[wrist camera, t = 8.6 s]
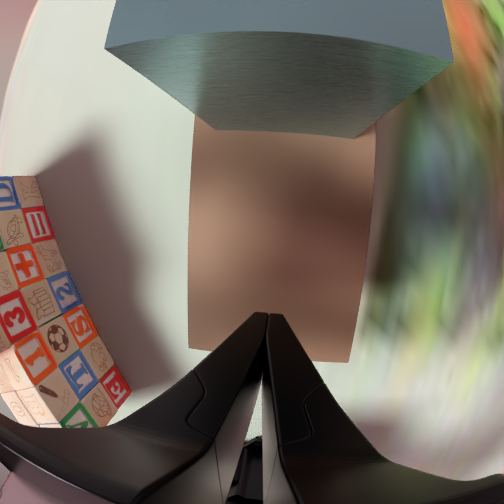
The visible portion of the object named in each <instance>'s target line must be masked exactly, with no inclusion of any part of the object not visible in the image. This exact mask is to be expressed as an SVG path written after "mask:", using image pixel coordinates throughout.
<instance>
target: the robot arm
mask: <svg viewBox="0 0 504 504" xmlns="http://www.w3.org/2000/svg"><path fill="white" fill-rule="evenodd" d="M261 380H262V438H255V439H253V440H251V441H249V442H247V443H246V444H244V441H245V438H246V434H247V431H248V428H249V424H250V421H251V417H252V414H253V410H254V407H255V403H256V400H257V396H258V393H259V389H260V385H261ZM257 442H258V443H257ZM243 444H244V445H243ZM0 462H1V463H2V464H3V465H4V466H5V467H6V468H7V469H8V470H9V471H10V473H9V475H8V477H7V479H6V480H5V482H4V484H3V485H2V487H1V489H0V504H504V474H494V475H490V476H487V477H484V478H481V479H477V480H471V481H459V480H452V479H447V478H443V477H440V476H436V475H432V474H429V473H425V472H422V471H419V470H416V469H412V468H409V467H406V466H403V465H400V464H397V463H394V462H392V461H390V460H388V459H387V458H385V457H384V456H382V455H381V454H380V453H379V452H378V451H377V450H376V449H375V448H374V447H373V446H372V444H371V443H370V442H369V441H368V440H367V439H366V437H365V436H364V435H363V434H362V433H361V431H360V430H359V429H358V428H357V427H356V426H355V424H354V423H353V422H352V421H351V420H350V418H349V417H348V416H347V415H346V413H345V412H344V411H343V410H342V408H341V407H340V406H339V404H338V403H337V401H336V400H335V398H334V397H333V395H332V394H331V392H330V391H329V389H328V387H327V386H326V384H325V383H324V381H323V379H322V378H321V376H320V374H319V373H318V371H317V370H316V368H315V366H314V365H313V363H312V361H311V360H310V358H309V356H308V355H307V353H306V351H305V350H304V348H303V346H302V345H301V343H300V342H299V340H298V338H297V337H296V335H295V333H294V332H293V330H292V328H291V327H290V325H289V323H288V322H287V320H286V318H285V317H284V315H283V314H279V313H270V314H269V315H268V313H266V312H254V313H253V314H252V315H251V316H250V317H249V318H248V319H246V320H245V321H244V322H243V323H242V324H241V325H240V326H239V327H238V328H237V329H236V330H235V331H234V332H233V333H232V334H231V335H229V336H228V337H227V338H226V339H225V340H224V341H223V342H222V343H221V344H220V345H219V346H218V347H217V348H215V349H214V350H213V351H212V352H211V353H210V354H209V355H208V356H207V357H206V358H204V359H203V360H202V361H201V362H200V363H199V364H198V365H197V366H196V367H195V368H194V369H193V370H191V371H190V372H189V373H188V374H187V375H185V376H184V377H183V378H182V379H181V380H180V381H178V382H177V383H176V384H175V385H174V386H172V387H171V388H170V389H168V390H167V391H165V392H164V393H163V394H161V395H160V396H158V397H157V398H155V399H154V400H152V401H151V402H149V403H148V404H146V405H145V406H143V407H142V408H140V409H139V410H137V411H135V412H134V413H132V414H131V415H129V416H128V417H126V418H124V419H123V420H121V421H119V422H117V423H114V424H112V425H109V426H104V427H90V428H48V427H33V426H28V425H23V424H20V423H17V422H15V421H13V420H11V419H9V418H8V417H6V416H4V415H2V414H1V413H0Z"/></svg>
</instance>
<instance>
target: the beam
mask: <svg viewBox="0 0 504 504" xmlns="http://www.w3.org/2000/svg"><path fill="white" fill-rule="evenodd" d="M375 146H376V122H374V123H373V124H372V125H370V126H369V127H368V128H367V129H365V130H364V131H363V132H362V133H360V134H359V135H358V136H356V137H355V138H354V139H350V138H341V137H332V136H323V135H312V134H300V133H286V132H269V131H243V130H214V129H213V128H212V127H211V126H209V125H208V124H207V123H206V122H204V121H203V120H202V119H200V118H199V117H198V116H197V115H195V122H194V134H193V148H192V164H191V182H190V204H189V233H188V344H189V348H192V349H199V350H206V351H213V350H214V349H215V348H217V347H218V346H219V345H220V344H221V343H222V342H223V341H224V340H225V339H226V338H227V337H228V336H229V335H231V334H232V333H233V332H234V331H235V330H236V329H237V328H238V327H239V326H240V325H241V324H242V323H243V322H244V321H245V320H246V319H248V318H249V317H250V316H251V315H252V314H253V313H254V312H266V313H268V315H269V314H270V313H279V314H283V315H284V317H285V318H286V320H287V322H288V323H289V325H290V327H291V328H292V330H293V332H294V333H295V335H296V337H297V338H298V340H299V342H300V343H301V345H302V346H303V348H304V350H305V351H306V353H307V355H308V356H309V358H310V360H311V361H320V362H344V363H348V361H349V357H350V352H351V347H352V342H353V337H354V332H355V327H356V322H357V316H358V311H359V305H360V299H361V292H362V286H363V279H364V272H365V265H366V258H367V250H368V241H369V232H370V222H371V212H372V200H373V186H374V169H375Z"/></svg>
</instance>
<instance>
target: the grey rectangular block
mask: <svg viewBox="0 0 504 504" xmlns="http://www.w3.org/2000/svg"><path fill="white" fill-rule="evenodd" d="M104 49H105V50H107V51H108V52H110V53H111V54H113V55H114V56H116V57H117V58H119V59H120V60H122V61H123V62H124V63H126V64H127V65H129V66H130V67H132V68H133V69H134V70H136V71H137V72H139V73H140V74H142V75H143V76H144V77H146V78H147V79H149V80H150V81H151V82H153V83H154V84H155V85H157V86H158V87H160V88H161V89H162V90H164V91H165V92H166V93H168V94H169V95H170V96H172V97H173V98H174V99H176V100H177V101H178V102H180V103H181V104H182V105H184V106H185V107H186V108H188V109H189V110H190V111H191V112H193V113H194V114H195V115H197V116H198V117H199V118H200V119H202V120H203V121H204V122H206V123H207V124H208V125H209V126H211V127H212V128H213V129H214V130H243V131H269V132H286V133H300V134H312V135H323V136H332V137H341V138H350V139H354V138H355V137H356V136H358V135H359V134H360V133H362V132H363V131H364V130H365V129H367V128H368V127H369V126H370V125H372V124H373V123H374V122H376V121H377V120H378V119H380V118H381V117H382V116H383V115H385V114H386V113H387V112H389V111H390V110H391V109H392V108H394V107H395V106H396V105H398V104H399V103H400V102H402V101H403V100H404V99H406V98H407V97H408V96H409V95H411V94H412V93H413V92H415V91H416V90H417V89H419V88H420V87H421V86H423V85H424V84H425V83H427V82H428V81H429V80H431V79H432V78H433V77H435V76H436V75H437V74H439V73H440V72H441V71H443V70H444V69H445V68H447V67H448V66H450V65H451V64H452V63H453V56H452V49H451V43H450V37H449V32H448V27H447V22H446V17H445V12H444V8H443V4H442V0H116V4H115V7H114V11H113V14H112V18H111V22H110V26H109V30H108V34H107V38H106V43H105V47H104Z"/></svg>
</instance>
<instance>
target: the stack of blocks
mask: <svg viewBox="0 0 504 504" xmlns="http://www.w3.org/2000/svg"><path fill="white" fill-rule="evenodd" d="M131 392H132V391H131V390H130V388H129V387H128V385H127V384H126V382H125V380H124V379H123V377H122V376H121V374H120V372H119V371H118V369H117V367H116V366H115V365H114V361H113V359H112V357H111V356H110V354H109V352H108V350H107V348H106V347H105V345H104V343H103V341H102V340H101V338H100V336H99V335H98V332H97V330H96V328H95V326H94V324H93V322H92V320H91V318H90V316H89V314H88V312H87V310H86V308H85V306H84V304H83V303H82V301H81V299H80V297H79V295H78V292H77V290H76V288H75V286H74V284H73V281H72V279H71V277H70V274H69V272H68V271H67V268H66V266H65V263H64V261H63V258H62V256H61V253H60V251H59V248H58V246H57V243H56V241H55V236H54V234H53V231H52V228H51V225H50V222H49V219H48V216H47V213H46V210H45V207H44V204H43V200H42V197H41V194H40V191H39V187H38V184H37V180H36V177H35V176H12V177H8V176H4V177H0V393H1V396H2V397H3V399H4V400H5V402H6V403H7V405H8V407H9V408H10V410H11V411H12V412H13V414H14V416H15V417H16V418H17V420H18V421H19V423H20V424H23V425H28V426H33V427H48V428H90V427H104V426H106V425H107V424H108V423H109V421H110V420H111V419H112V417H113V416H114V415H115V414H116V412H117V411H118V410H117V409H119V407H120V406H121V405H122V404H123V403H124V401H125V400H126V399H127V398H128V396H129V395H130V393H131Z"/></svg>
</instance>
